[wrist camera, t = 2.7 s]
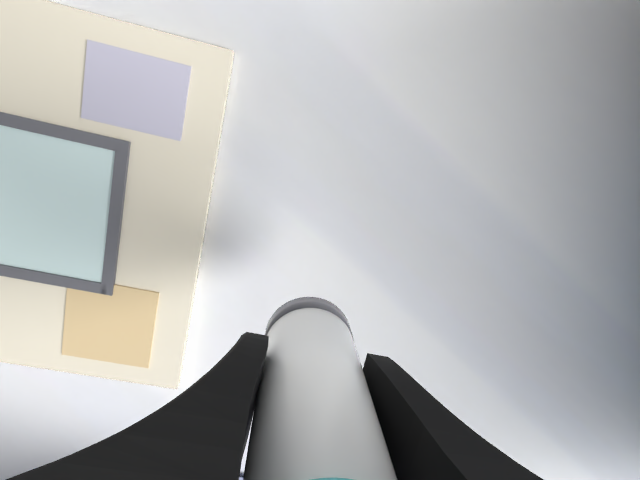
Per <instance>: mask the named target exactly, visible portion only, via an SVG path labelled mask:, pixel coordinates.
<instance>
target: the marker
mask: <svg viewBox="0 0 640 480" xmlns="http://www.w3.org/2000/svg"><path fill="white" fill-rule="evenodd" d="M265 335H266V336H269V341H268V349H267V354H266V358H265V363H264V367H263V372H262V376H261V381H260V385H259V388H258V392H257V396H256V401H255V407H254V414H253V420H252V427H251V433H250V439H249V446H248V452H247V459H246V465H245V471H244V478H243V480H397V477H396V474H395V471H394V467H393V464H392V461H391V458H390V455H389V452H388V448H387V445H386V442H385V439H384V436H383V433H382V429H381V426H380V423H379V420H378V417H377V414H376V410H375V407H374V404H373V401H372V398H371V395H370V391H369V388H368V385H367V382H366V379H365V376H364V373H363V369H362V366H361V363H360V360H359V357H358V354H357V350H356V347H355V344H354V340H353V336H352V332H351V329H350V326H349V323H348V321H347V319H346V317H345V315H344V314H343V312H342V311H341V310H340V309H339V308H338V307H337V306H335V305H334V304H332V303H331V302H329V301H327V300H324V299H321V298H316V297H302V298H297V299H294V300H291V301H289V302H287V303H285V304H284V305H282V306H281V307H280V308H279V309H277V310H276V312H275V313H274V314H273V315H272V317H271V318H270V320H269V322H268V325H267V328H266V333H265Z"/></svg>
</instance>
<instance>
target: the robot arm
mask: <svg viewBox="0 0 640 480" xmlns="http://www.w3.org/2000/svg"><path fill="white" fill-rule="evenodd" d="M268 341H269V336H266V335H260V334H254V333H249V332H246V333H244V334H243V335H241V337H240V339H239V340H238V341H237V343H236V344H235V345H234V346H233V347H232V349H231V350H230V351H229V352H228V353H227V354H226V355H225V356H224V357H223V358H222V359H221V360H220V361H219V362H218V363H217V364H216V365H215V366H214V367H213V368H212V369H211V370H210V371H209V372H207V373H206V374H205V375H204V376H203V377H201V378H200V379H199V380H198V381H197V382H196V383H194V384H193V385H192V386H191V387H189V388H188V389H187V390H186V391H184V392H183V393H182V394H180V395H179V396H177V397H176V398H175V399H173V400H172V401H170V402H169V403H167V404H166V405H164V406H163V407H162V408H160V409H158V410H157V411H155V412H154V413H152V414H150V415H149V416H147V417H145V418H144V419H142V420H140V421H138V422H137V423H135V424H133V425H131V426H130V427H128V428H126V429H124V430H122V431H120V432H119V433H117V434H115V435H112V436H110V437H108V438H106V439H104V440H102V441H100V442H98V443H96V444H94V445H91V446H89V447H87V448H85V449H82V450H80V451H78V452H76V453H73V454H71V455H69V456H66V457H64V458H62V459H59V460H57V461H54V462H52V463H49V464H46V465H44V466H41V467H38V468H36V469H33V470H30V471H28V472H25V473H22V474H20V475H17V476H14V477H12V478H9V479H6V480H243V478H241V477H239V475H240V468H241V461H242V457H243V453H244V450H245V446H246V442H247V439H248V435H249V430H250V426H251V421H252V417H253V412H254V407H255V401H256V396H257V392H258V388H259V385H260V381H261V376H262V372H263V367H264V363H265V358H266V354H267V349H268ZM363 373H364V376H365V379H366V382H367V385H368V388H369V391H370V395H371V398H372V401H373V404H374V407H375V410H376V414H377V417H378V420H379V423H380V426H381V429H382V433H383V436H384V439H385V442H386V445H387V448H388V452H389V455H390V458H391V461H392V464H393V467H394V471H395V474H396V477H397V480H543V479H542V478H540V477H538V476H537V475H535V474H534V473H532V472H530V471H529V470H527V469H526V468H524V467H523V466H521V465H520V464H518V463H517V462H515V461H514V460H513V459H511V458H510V457H508V456H507V455H506V454H504V453H503V452H501V451H500V450H499V449H497V448H496V447H494V446H493V445H492V444H490V443H489V442H487V441H486V440H485V439H483V438H482V437H481V436H479V435H478V434H477V433H476V432H474V431H473V430H472V429H471V428H469V427H468V426H467V425H466V424H464V423H463V422H462V421H461V420H460V419H458V418H457V417H456V416H455V415H453V414H452V413H451V412H450V411H449V410H448V409H446V408H445V407H444V406H443V405H442V404H441V403H440V402H438V401H437V400H436V399H435V398H434V397H433V396H432V395H431V394H430V393H428V392H427V391H426V390H425V389H424V388H423V387H422V386H421V385H420V384H419V383H418V382H416V381H415V380H414V379H413V378H412V377H411V376H410V375H409V374H408V373H407V372H406V371H404V370H403V369H402V368H401V367H400V366H399V365H398V364H396V363H395V362H394V361H393V360H391V359H390V358H389V357H385V356H379V355H373V354H368V353H367V357H366V360H365V364H364V367H363Z"/></svg>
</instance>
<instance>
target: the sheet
mask: <svg viewBox="0 0 640 480" xmlns="http://www.w3.org/2000/svg"><path fill="white" fill-rule="evenodd" d="M233 59H234V51H233V50H229V49H226V48H222V47H218V46H214V45H211V44H207V43H203V42H199V41H196V40H192V39H188V38H185V37H181V36H177V35H173V34H170V33H166V32H162V31H158V30H155V29H151V28H147V27H144V26H140V25H136V24H132V23H129V22H125V21H121V20H117V19H114V18H110V17H106V16H103V15H99V14H95V13H91V12H88V11H84V10H80V9H76V8H73V7H69V6H65V5H62V4H58V3H54V2H50V1H47V0H0V362H3V363H9V364H16V365H22V366H29V367H35V368H42V369H48V370H55V371H61V372H68V373H74V374H80V375H87V376H93V377H100V378H106V379H113V380H119V381H126V382H132V383H139V384H145V385H151V386H158V387H164V388H171V389H177V388H178V386H179V384H180V378H181V372H182V366H183V360H184V354H185V348H186V342H187V336H188V330H189V324H190V318H191V312H192V306H193V300H194V294H195V288H196V282H197V276H198V270H199V264H200V258H201V252H202V246H203V240H204V234H205V228H206V222H207V216H208V210H209V204H210V198H211V192H212V186H213V180H214V174H215V168H216V162H217V156H218V150H219V144H220V138H221V132H222V126H223V120H224V114H225V108H226V102H227V95H228V89H229V83H230V77H231V71H232V65H233Z"/></svg>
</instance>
